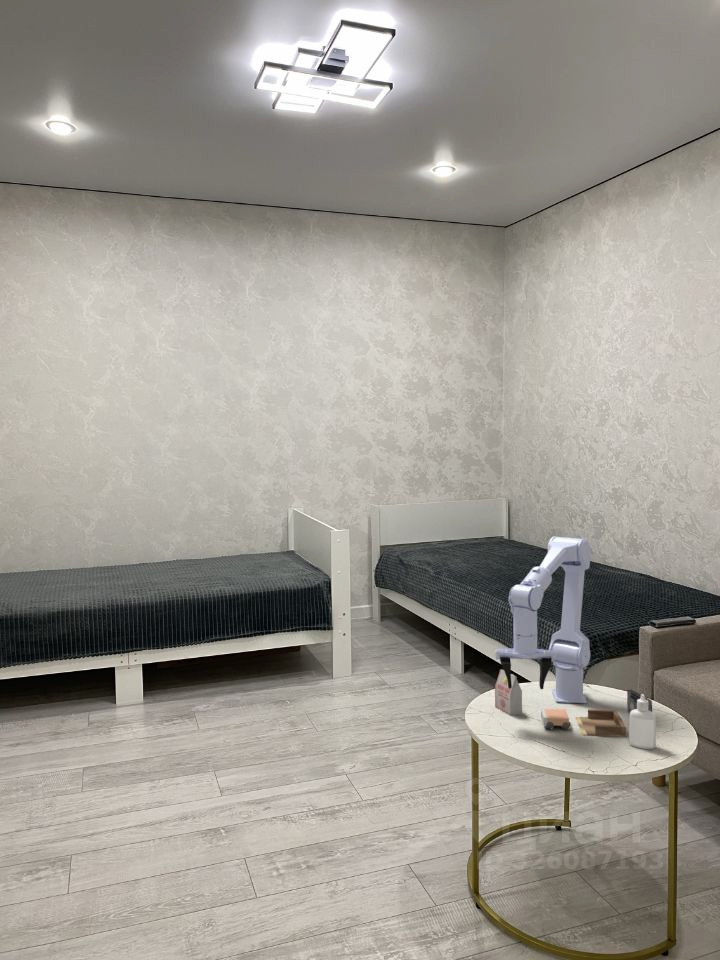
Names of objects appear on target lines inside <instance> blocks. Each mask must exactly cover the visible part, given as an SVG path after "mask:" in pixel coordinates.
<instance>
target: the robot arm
mask: <svg viewBox="0 0 720 960" xmlns="http://www.w3.org/2000/svg"><path fill="white" fill-rule="evenodd" d="M591 553H592V547H591V545H590V542H589V541H588V539H586V538H573V537H563V536H562V537H561V536H556V535H554V536H552V537H551V538H550V539H549V541H548V543H547V553H546V555H545V556H544V559H542V561H541V563H540V565H539V566H533V567H532V568H531V569H530V571H529V572H528V573H527V575H526V576H525V577H524V579H522V581H521V582H520V584H515V585H514V586H512V587H511V588H510V590H509V594H508V598H507V599H508V604H509V606H510V612H511V615H513V626H512V627H513V629H512V630H513V648H503V649H502V648H501V649H499V648H498V649H495V650H494V651H495V653H494V654H495V659H496V660H499V661H500V665H501V667H502V670H504V671H505V674H506V677H507V680H508V688H511V689H512V684H511V674H512V663H511V660H513V659H515V660H516V659H517V660H539V689H540V690H544V687H545V686H544V685H545V681H546V678H547V675H548V673H549V671H550V669H551V668H552V666H554V667H555V688H553V689H551V691H552V694H553V697H554V699H555V702H556V703H561V704H562V703H570V704H587V703H588V701H587V698H586V697H585V694H584V669H585V668H586V667H587V666H588V664H589V662H590V659H591V650H590V640H589V638H588V637H587V636H586V635H585V634H584V633H583V632H582V631H581V620H582V608H583V607H582V606H583V597H584V596H583V595H584V582H585V571H587V570H588V569H590V565H591V555H592V554H591ZM559 567H561V568H562V569H563V571H564V573H565V574H564V585H563V586H564V587H563V598H562V599H563V600H562V609H561V610H562V613H561V622H560V629H559V630H557V631H556V632H554V633H553V634H552V635H551V638H550V639H551V640H550V643H549V647H548V649H540V648H538V609H539V608H540V607H541V604H542V601H543V598H544V593H545V591H546V590H547V588H549V586H550V585H551V583H552V581H553V576H552V575H553V573H554V572H556V570H557V569H558V568H559Z"/></svg>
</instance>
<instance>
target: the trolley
mask: <svg viewBox="0 0 720 960" xmlns="http://www.w3.org/2000/svg"><path fill="white" fill-rule="evenodd" d="M540 718H541V721H542V726H544V727H545V728H546V729H548V730H552V729H554V727H555V726H557V727H559V726H560V728H562V729H563V730H569V729H571V725H572V724H571V722H570V717H569V716H568V712H567V710H566V709H563V708H562V709H559V708H554V709H553V708H540Z"/></svg>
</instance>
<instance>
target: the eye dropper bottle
mask: <svg viewBox="0 0 720 960" xmlns="http://www.w3.org/2000/svg"><path fill="white" fill-rule="evenodd" d="M640 694H641V693H640ZM645 697H646V695H645V694H643V693H642V694H641V698H640V699H638V700H637V709H634V710H632V711H631V712H630V714H629V719H628V720H629V722H628V723H629V724H628V725H629V727H628V729H629V730H628V731H629V733H628V734H629V736H628V739H629V740H628V742H629V745H630V746H632V747H635V748H639V749H644V750H654V749H656V746H657V745H656V744H657V743H656V741H657V737H656V736H657V717H656V714H655V713H654V712H653V711H652V712H651V711H649V710H648V701H647V700H646V699H645Z"/></svg>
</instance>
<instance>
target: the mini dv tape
mask: <svg viewBox="0 0 720 960" xmlns="http://www.w3.org/2000/svg"><path fill="white" fill-rule="evenodd" d="M626 691H627V704H626V706H627V707H626V708H627V709H626V713H628V714H629V715H630V712H631V711H632V710H634V709H637V700H638V699H640V698H641V693H639V692H637V691H635V690H633V689H627V690H626ZM645 699H646V700H647V701H648V710H649V711H651V712H653V701H652V700H651V699H649V698H648V697H646V696H645Z"/></svg>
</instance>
